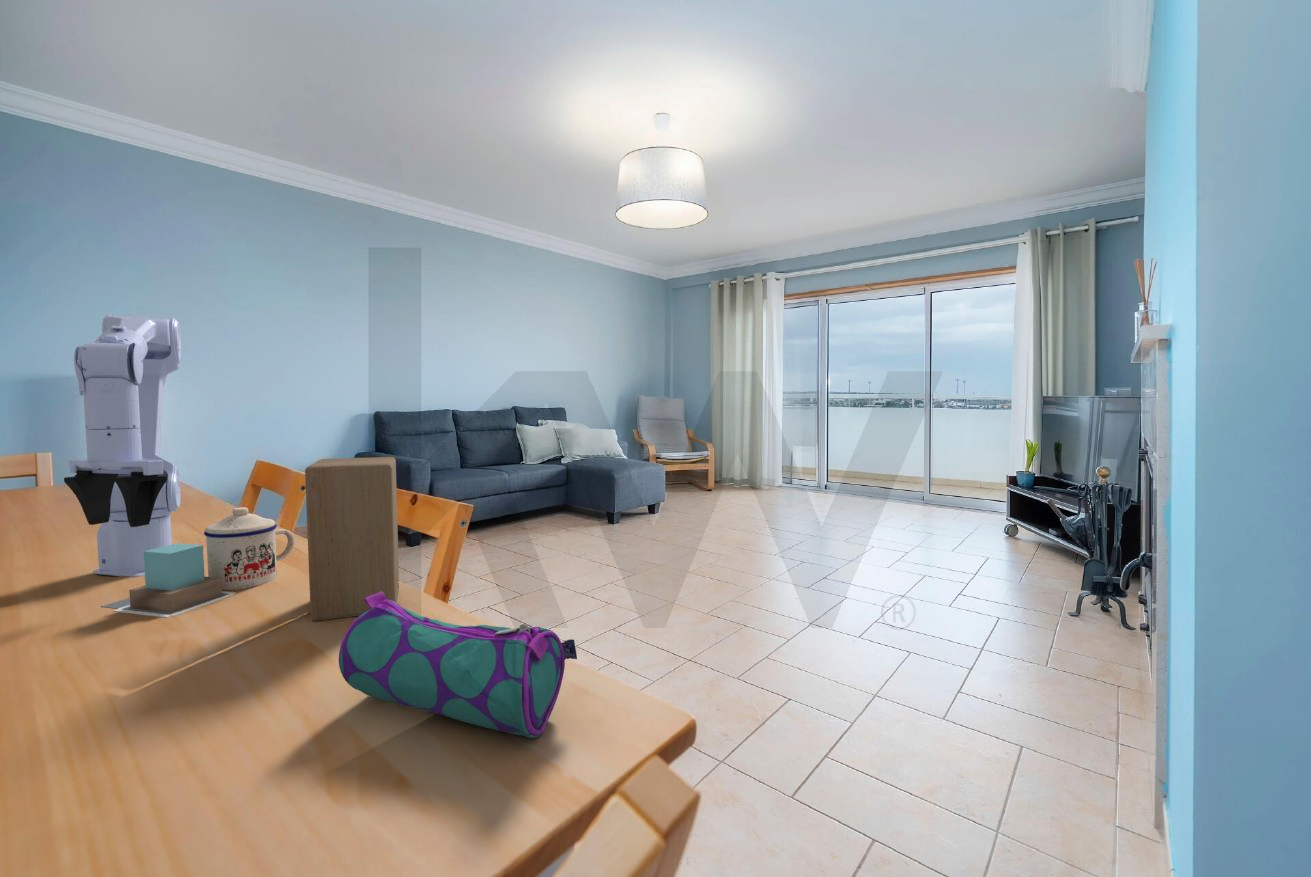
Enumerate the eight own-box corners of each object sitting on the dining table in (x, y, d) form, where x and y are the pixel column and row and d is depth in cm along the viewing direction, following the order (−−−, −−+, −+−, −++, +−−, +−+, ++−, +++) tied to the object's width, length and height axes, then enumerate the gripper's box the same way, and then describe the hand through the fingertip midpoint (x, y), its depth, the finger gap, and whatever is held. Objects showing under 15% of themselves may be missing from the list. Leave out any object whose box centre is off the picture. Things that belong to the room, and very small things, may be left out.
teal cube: (145, 587, 80) (143, 551, 79) (179, 577, 84) (177, 543, 84) (172, 590, 79) (169, 553, 78) (204, 580, 83) (203, 545, 83)
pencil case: (578, 707, 56) (577, 607, 55) (527, 762, 48) (525, 645, 47) (402, 671, 63) (399, 582, 62) (331, 713, 55) (327, 611, 54)
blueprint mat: (93, 611, 79) (93, 608, 79) (168, 588, 88) (167, 585, 88) (169, 620, 76) (169, 617, 76) (237, 595, 85) (237, 592, 85)
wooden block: (323, 597, 85) (318, 458, 83) (399, 589, 88) (395, 456, 87) (310, 622, 76) (304, 467, 74) (395, 612, 79) (391, 464, 78)
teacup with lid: (223, 597, 85) (219, 516, 84) (195, 586, 89) (191, 509, 89) (309, 575, 95) (306, 503, 94) (280, 566, 100) (277, 498, 99)
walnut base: (130, 608, 79) (129, 589, 79) (183, 591, 86) (182, 574, 86) (171, 612, 77) (170, 594, 77) (221, 595, 84) (221, 578, 84)
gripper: (40, 429, 81) (46, 528, 82) (121, 430, 78) (127, 532, 78) (99, 427, 88) (104, 518, 89) (176, 428, 84) (181, 522, 85)
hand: (119, 524), depth 84 cm, fingers open, 7 cm apart
